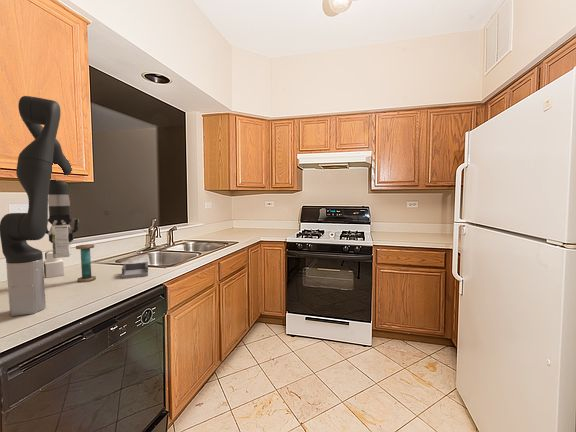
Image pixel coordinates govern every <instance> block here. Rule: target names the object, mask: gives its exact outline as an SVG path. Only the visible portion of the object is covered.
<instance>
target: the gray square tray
mask: <svg viewBox="0 0 576 432" xmlns="http://www.w3.org/2000/svg"><path fill="white" fill-rule="evenodd" d="M142 277H143V278H144V277H149V262H148V261H145V262H134V263H124V264H123V265H122V267H121V279H132V278H134V279H135V278H142Z"/></svg>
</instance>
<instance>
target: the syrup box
mask: <svg viewBox="0 0 576 432" xmlns="http://www.w3.org/2000/svg"><path fill="white" fill-rule="evenodd" d="M69 225H70V224H69ZM69 225H68V226H69ZM51 226H52V225H51ZM68 226H67V225H55V226H52V242H53V243H52V251H53V258H61V259H62V258H69V257H70V256H72V255H71V254H72V250H71V242H69V232H68Z"/></svg>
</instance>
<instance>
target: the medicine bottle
mask: <svg viewBox="0 0 576 432" xmlns="http://www.w3.org/2000/svg"><path fill="white" fill-rule="evenodd" d="M43 271H44V278H46V279H49V278H56V277H63V276H65V275H66V274H65V262H64V260H63V259H62V258H53V250H49V251H46V252H45V253H44V260H43Z"/></svg>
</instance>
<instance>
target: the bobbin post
mask: <svg viewBox="0 0 576 432" xmlns="http://www.w3.org/2000/svg"><path fill="white" fill-rule="evenodd" d="M93 248H95V244H92V243H91V244H89V243H87V244H79V245H76V246H75V250H80V261H81V262H80V264H81V277H78V278H77V282H78V283H88V282H93V281H95V280H96V279H97V276H95V275H92V262H91V249H93Z"/></svg>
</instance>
